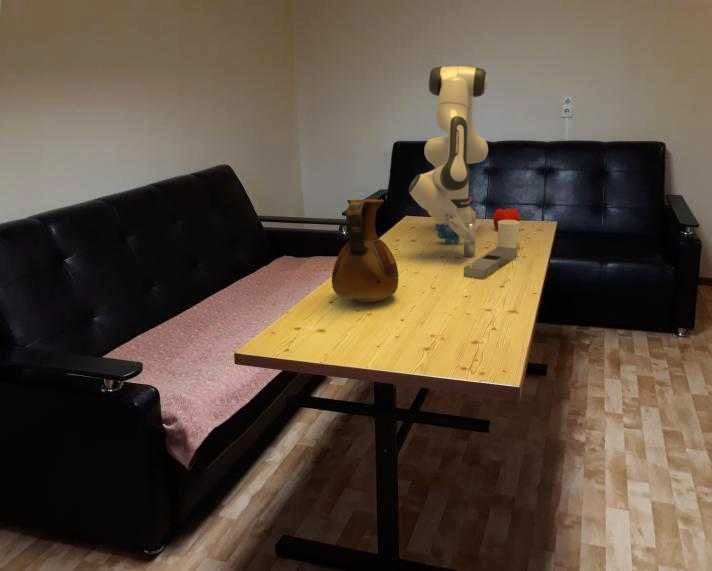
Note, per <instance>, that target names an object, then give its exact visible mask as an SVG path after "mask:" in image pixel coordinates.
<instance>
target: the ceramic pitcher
mask: <svg viewBox="0 0 712 571" xmlns="http://www.w3.org/2000/svg"><path fill="white" fill-rule="evenodd" d="M346 201H347V204H348V206H347V209H346V213H345V224H346V225H345V226H346V234H347V239H348V240H347V241H348V242H346V244H345V245H344V246H343V247H342V248H341V250H340V252H339V254H338V255H337V258H336V260H335V263H334V265H333V269H332V273H331V285H332V286H331V287H332V290H333V292H334V293H335V294H336V295H338V296H340V297H342V298H345V299H346V298H347V299H350V300H356V301H359V302H367V303H368V302H369V303H376V302H381V301H383V300H385V299H387V298H388V297H391V296H392V295H394V294H396V292H397V290H398V286H399V270H398V264H397V262H396V258H395V256H394V254H393V253H392V251H391V249H390V248H389V247H388V245H387V244H386V243H385V242H384V241H383V240H381V239H380V237H379V236H378V234H377V231H376V217H377V216H376V214H377V211H378V210H379V208H380V206H381V205H382V204H383V203H385V201H384V199H375V198H371V199H370V198H365V199H352V200H351V199H347V200H346Z"/></svg>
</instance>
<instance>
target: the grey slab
mask: <svg viewBox="0 0 712 571" xmlns="http://www.w3.org/2000/svg"><path fill="white" fill-rule="evenodd" d="M517 257H518V248H508V247H498V246H497V247H495V248H494V249H492V250H491V251H488V252H487V253H485V254H484V255H481V257H479V258H477V259H475V260H474V261H472V262H471V263H469V264H467V265H466V266H464V267H463V277H466V278H472V277H474V278H475V279H481V280H485V279H486V278H487V276H488V277H489V276H491V275H492V274H493V272H494V273H495V272H497V271H498V270H499V269H501V268H503V267H504V266H505V265H507V264H509V263H510V262H512V261H513V260H515V258H517ZM496 270H497V271H496ZM490 274H491V275H490ZM474 278H473V279H474Z"/></svg>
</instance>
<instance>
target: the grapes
mask: <svg viewBox="0 0 712 571" xmlns="http://www.w3.org/2000/svg"><path fill="white" fill-rule="evenodd" d="M434 228H435V229H434ZM433 229H434V230H435V232H437V237H438V238H439V239H440V240H443V239H444V242H445V243H446V244H448V245H450V244H451V243H452V242H453V243H454V244H458V243H459V242H460V241H461V240H460V237H459V236H458V235H457V234H456V233H455V232H454V231H453V230H452V229H451V228H450V226H449V225H444V224H441V225H439V224H436V223H435V224H434V225H433Z"/></svg>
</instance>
